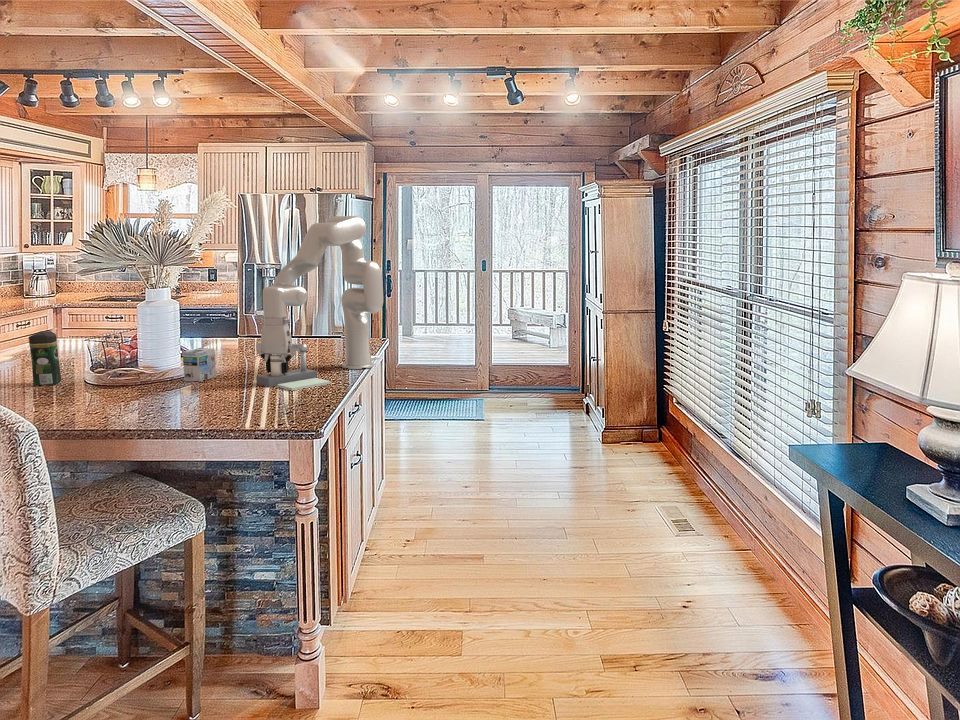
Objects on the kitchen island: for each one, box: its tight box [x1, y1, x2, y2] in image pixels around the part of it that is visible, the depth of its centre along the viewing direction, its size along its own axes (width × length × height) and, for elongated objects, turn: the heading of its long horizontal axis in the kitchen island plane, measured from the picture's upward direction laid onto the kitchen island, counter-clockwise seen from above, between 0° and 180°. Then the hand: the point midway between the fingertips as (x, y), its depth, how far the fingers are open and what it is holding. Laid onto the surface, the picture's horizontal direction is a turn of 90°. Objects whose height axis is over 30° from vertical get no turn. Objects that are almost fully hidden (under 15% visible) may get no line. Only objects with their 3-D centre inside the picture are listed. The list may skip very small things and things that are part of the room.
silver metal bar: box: [255, 341, 308, 352], centre depth 264 cm, size 19×3×2 cm, turn 79°
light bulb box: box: [182, 347, 217, 383], centre depth 262 cm, size 11×7×11 cm, turn 168°
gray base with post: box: [255, 351, 318, 388], centre depth 258 cm, size 20×8×10 cm, turn 138°
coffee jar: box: [28, 330, 62, 386], centre depth 251 cm, size 10×8×19 cm
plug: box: [270, 354, 284, 377], centre depth 255 cm, size 4×4×10 cm
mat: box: [276, 377, 332, 392], centre depth 252 cm, size 16×9×1 cm, turn 138°
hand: (277, 372), depth 255 cm, fingers open, 5 cm apart
